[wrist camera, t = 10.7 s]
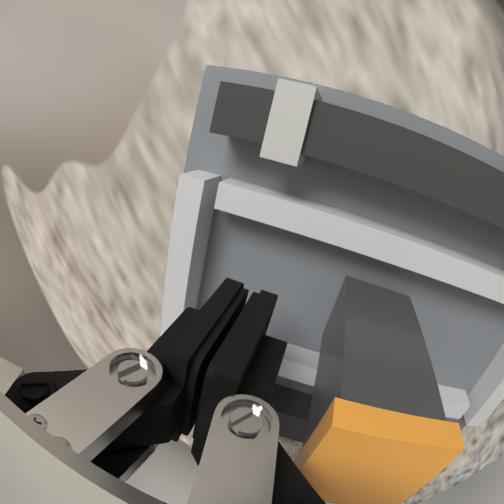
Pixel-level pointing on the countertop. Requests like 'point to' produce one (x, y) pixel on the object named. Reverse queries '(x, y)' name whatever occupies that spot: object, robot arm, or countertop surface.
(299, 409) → the pair of dark rails
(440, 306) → the breaker panel
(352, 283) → the toggle knob
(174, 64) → the countertop surface
